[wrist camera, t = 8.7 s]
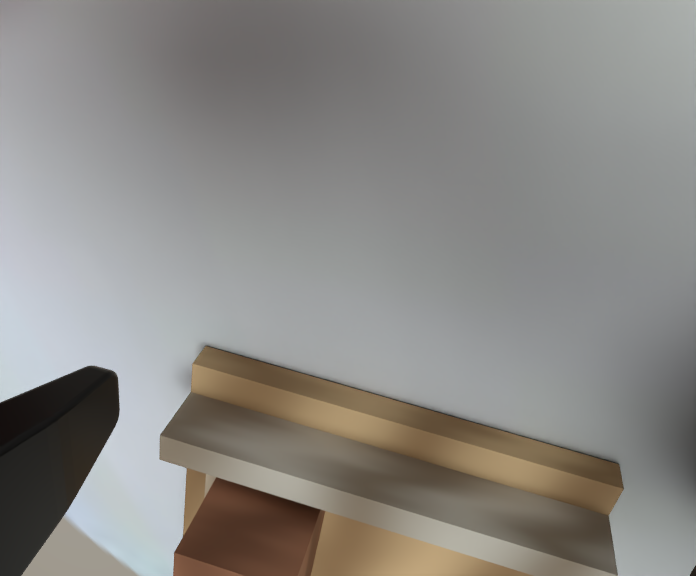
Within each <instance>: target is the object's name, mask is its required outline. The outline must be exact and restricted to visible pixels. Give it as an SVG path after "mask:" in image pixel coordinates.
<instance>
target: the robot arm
mask: <svg viewBox="0 0 696 576" xmlns="http://www.w3.org/2000/svg"><path fill="white" fill-rule="evenodd" d="M119 410H120V408H119V388H118V377H117V375H116V373H115V372H114V371H112V370H108V369H105V368H101V367H97V366H87V367H84V368H82V369H80V370H77V371H75V372H72V373H70V374H68V375H65V376H63V377H60V378H58V379H56V380H53V381H51V382H48V383H46V384H44V385H41V386H39V387H36V388H34V389H32V390H29V391H27V392H25V393H22V394H20V395H17V396H15V397H13V398H10V399H8V400H5V401H3V402H1V403H0V576H21V575H22V574H23V572H24V571H25V570H26V568H27V567H28V565H29V564H30V563H31V561H32V560H33V558H34V557H35V556H36V554H37V553H38V551H39V550H40V549H41V547H42V546H43V544H44V543H45V542H46V540H47V539H48V537H49V536H50V534H51V533H52V532H53V530H54V529H55V527H56V526H57V524H58V523H59V522H60V520H61V519H62V517H63V516H64V515H65V513H66V512H67V510H68V509H69V507H70V505H71V504H72V502H73V500H74V499H75V497H76V495H77V493H78V492H79V490H80V488H81V486H82V485H83V483H84V481H85V479H86V477H87V476H88V474H89V472H90V470H91V469H92V467H93V465H94V463H95V461H96V460H97V458H98V456H99V454H100V453H101V451H102V449H103V447H104V445H105V444H106V442H107V440H108V438H109V436H110V435H111V433H112V431H113V429H114V428H115V426H116V423H117V421H118V417H119ZM690 576H696V566H695V567H694V569H693V570H692V572H691V574H690Z"/></svg>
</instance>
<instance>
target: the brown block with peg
mask: <svg viewBox="0 0 696 576" xmlns="http://www.w3.org/2000/svg"><path fill="white" fill-rule="evenodd" d="M324 515H325V511H324V510H321V509H317V508H314V507H311V506H308V505H305V504H301V503H298V502H295V501H292V500H288V499H285V498H282V497H279V496H276V495H272V494H269V493H266V492H263V491H259V490H256V489H253V488H250V487H247V486H243V485H240V484H237V483H234V482H231V481H227V480H224V479H221V478H218V477H216V478H215V480H214V482H213V484H212V486H211V487H210V489H209V491H208V493H207V495H206V496H205V498H204V500H203V502H202V504H201V506H200V507H199V509H198V511H197V513H196V515H195V516H194V518H193V520H192V522H191V524H190V525H189V527H188V529H187V531H186V533H185V534H184V536H183V538H182V540H181V542H180V543H179V545H178V547H177V549H176V551H175V552H174V571H173V576H311V573H312V568H313V564H314V559H315V555H316V550H317V546H318V541H319V537H320V532H321V528H322V523H323V519H324Z"/></svg>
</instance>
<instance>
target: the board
mask: <svg viewBox="0 0 696 576" xmlns="http://www.w3.org/2000/svg"><path fill="white" fill-rule="evenodd" d="M160 460H163V461H166V462H169V463H173V464H176V465H179V466H182V467H185V468H187V474H186V493H185V511H184V529H183V536H184V534H185V533H186V531H187V529H188V527H189V525H190V524H191V522H192V520H193V518H194V516H195V515H196V513H197V511H198V509H199V507H200V506H201V504H202V502H203V500H204V498H205V496H206V495H207V493H208V491H209V489H210V487H211V486H212V484H213V482H214V480H215V478H216V477H218V478H221V479H224V480H227V481H231V482H234V483H237V484H240V485H243V486H247V487H250V488H253V489H256V490H259V491H263V492H266V493H269V494H272V495H276V496H279V497H282V498H285V499H288V500H292V501H295V502H298V503H301V504H305V505H308V506H311V507H314V508H317V509H321V510H324V511H325V515H324V519H323V523H322V528H321V532H320V537H319V541H318V546H317V550H316V555H315V559H314V564H313V568H312V573H311V576H618V573H617V567H616V561H615V554H614V548H613V541H612V535H611V528H610V522H609V514H610V512H611V511H612V509H613V507H614V505H615V503H616V502H617V500H618V498H619V496H620V495H621V493H622V491H623V489H624V488H623V482H622V477H621V472H620V467H619V464H616V463H612V462H609V461H605V460H602V459H598V458H595V457H591V456H588V455H584V454H581V453H577V452H574V451H571V450H567V449H564V448H560V447H557V446H553V445H550V444H546V443H543V442H539V441H536V440H532V439H529V438H525V437H522V436H518V435H515V434H511V433H508V432H504V431H501V430H497V429H494V428H490V427H487V426H483V425H480V424H476V423H473V422H469V421H466V420H462V419H459V418H455V417H452V416H448V415H445V414H442V413H438V412H435V411H431V410H428V409H424V408H421V407H417V406H414V405H410V404H407V403H403V402H400V401H396V400H393V399H389V398H386V397H382V396H379V395H375V394H372V393H368V392H365V391H361V390H358V389H354V388H351V387H347V386H344V385H340V384H337V383H333V382H330V381H326V380H323V379H319V378H316V377H313V376H309V375H306V374H302V373H299V372H295V371H292V370H288V369H285V368H281V367H278V366H274V365H271V364H267V363H264V362H260V361H257V360H253V359H250V358H246V357H243V356H239V355H236V354H232V353H229V352H225V351H222V350H218V349H215V348H211V347H208V346H205V348H204V349H203V350H202V352H201V353H200V354H199V356H198V357H197V358H196V360H195V361H194V362H193V364H192V383H191V393H190V394H189V395H188V397H187V398H186V400H185V401H184V403H183V404H182V405H181V407H180V408H179V410H178V411H177V412H176V414H175V415H174V417H173V418H172V419H171V421H170V422H169V424H168V425H167V426H166V428H165V429H164V431H163V432H162V433H161V435H160Z"/></svg>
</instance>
